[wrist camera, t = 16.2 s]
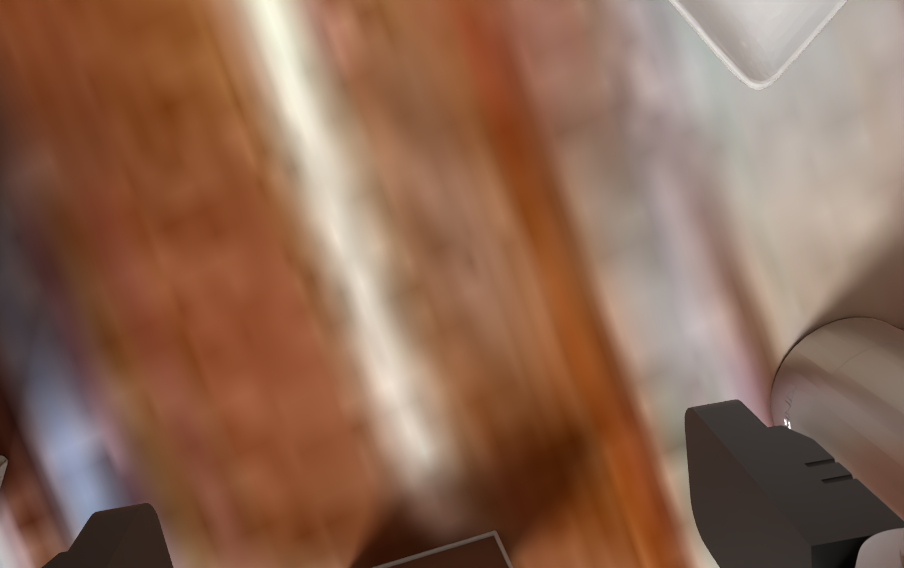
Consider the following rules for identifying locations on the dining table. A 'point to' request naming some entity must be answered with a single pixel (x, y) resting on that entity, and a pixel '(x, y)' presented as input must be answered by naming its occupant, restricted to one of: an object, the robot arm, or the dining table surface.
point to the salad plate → (758, 32)
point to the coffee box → (2, 467)
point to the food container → (460, 555)
